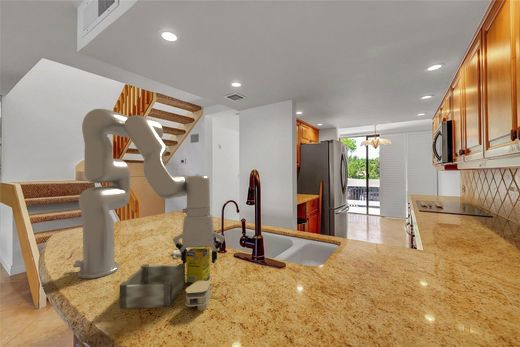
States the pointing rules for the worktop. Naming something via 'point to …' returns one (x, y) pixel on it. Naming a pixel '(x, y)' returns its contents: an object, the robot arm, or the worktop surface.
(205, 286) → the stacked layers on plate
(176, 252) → the teacup and saucer
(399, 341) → the worktop surface
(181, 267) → the crate
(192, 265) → the supplement box
